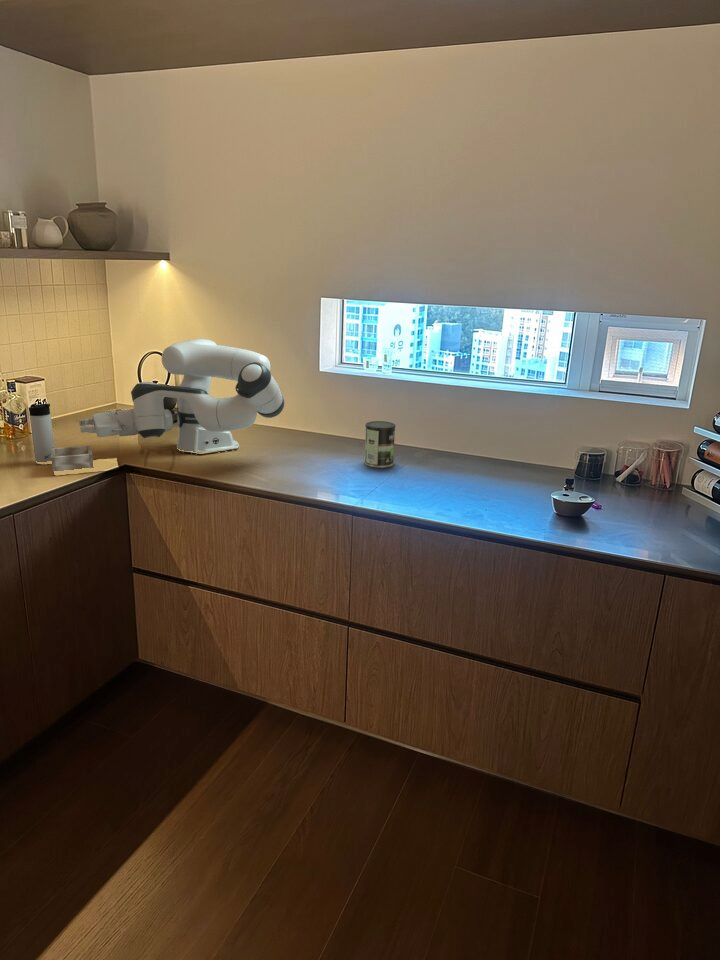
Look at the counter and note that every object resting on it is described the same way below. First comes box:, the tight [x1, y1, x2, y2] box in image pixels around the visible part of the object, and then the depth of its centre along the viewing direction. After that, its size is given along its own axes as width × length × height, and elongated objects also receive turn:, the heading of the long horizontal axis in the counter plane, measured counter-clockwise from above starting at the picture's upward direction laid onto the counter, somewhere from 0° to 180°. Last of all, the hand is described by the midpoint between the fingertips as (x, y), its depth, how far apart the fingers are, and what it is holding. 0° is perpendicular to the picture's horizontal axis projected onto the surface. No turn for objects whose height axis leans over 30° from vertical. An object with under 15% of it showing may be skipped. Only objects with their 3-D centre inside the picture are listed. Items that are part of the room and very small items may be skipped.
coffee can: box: [364, 420, 396, 469], centre depth 233 cm, size 10×10×14 cm
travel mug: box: [28, 403, 55, 462], centre depth 222 cm, size 6×7×20 cm
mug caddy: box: [51, 445, 94, 473], centre depth 220 cm, size 20×12×6 cm, turn 114°
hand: (79, 426), depth 226 cm, fingers open, 8 cm apart
